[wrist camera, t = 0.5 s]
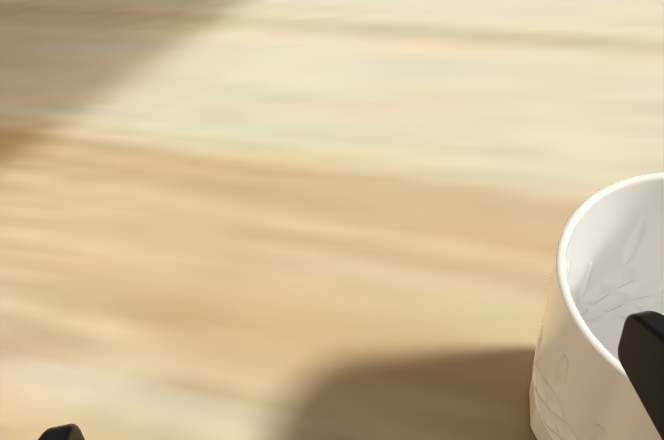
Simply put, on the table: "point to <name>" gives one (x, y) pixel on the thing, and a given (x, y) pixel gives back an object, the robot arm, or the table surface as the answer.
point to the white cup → (598, 315)
